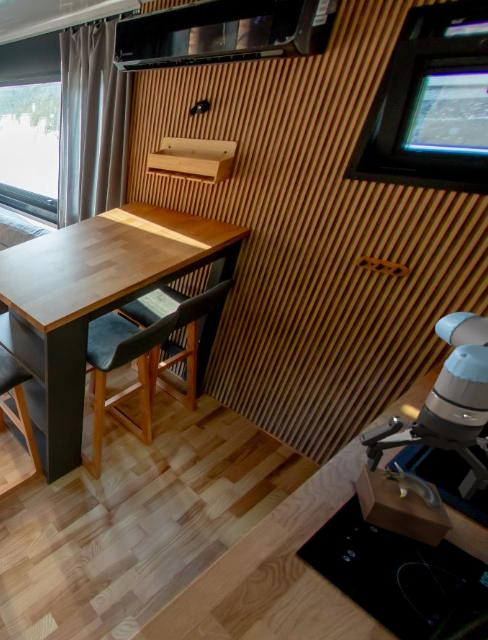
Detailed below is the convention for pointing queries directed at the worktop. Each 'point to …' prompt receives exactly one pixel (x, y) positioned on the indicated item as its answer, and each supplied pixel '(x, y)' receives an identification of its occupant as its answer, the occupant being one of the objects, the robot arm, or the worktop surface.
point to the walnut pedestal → (400, 508)
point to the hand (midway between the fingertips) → (414, 480)
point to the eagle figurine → (414, 486)
